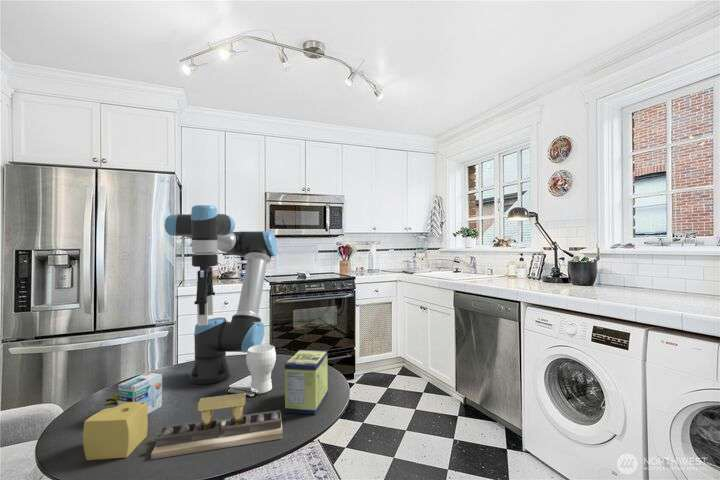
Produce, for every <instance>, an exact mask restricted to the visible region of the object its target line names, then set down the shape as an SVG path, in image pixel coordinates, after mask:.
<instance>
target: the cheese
mask: <svg viewBox="0 0 720 480" xmlns="http://www.w3.org/2000/svg"><path fill="white" fill-rule="evenodd" d="M148 415H149V414H148V407H147V402H127V403H122V404H120V405H118V404H117V406H114V407H107V408H104V409H102V410H99V411H98V412H96V413H94V414H92V415H91V416H90V417H87V419H85V420H84V423H83V430H82V443H83V452H84V456H85V460H86V461H97V460H110V459H112V460H113V459H122V458H123V459H125V458H128V457H129V455H131V454H132V452H134V450H135V449H136V448H137V447H138V446H139V445H140V444H141V443H142V442H143V441H144V440H145V439H146V438H147V436H148V426H149V425H148V423H149V422H148V420H149V419H148V418H149V417H148Z"/></svg>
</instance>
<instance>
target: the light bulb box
mask: <svg viewBox="0 0 720 480" xmlns="http://www.w3.org/2000/svg"><path fill="white" fill-rule="evenodd" d="M117 389H118V390H117V394H118V404H117V406H118V405H120V404H122V403H127V402H147V407H148V415H149V414H150V413H152V412H154V411H157V410H158V409H160V408H161V407H163V405H162V404H163V373H153V372H144V373H142V374H140V375H138V376H137V375H136V377H133V378H131V379H128V380H126V381H123V382H121V383H119V384H118V385H117Z"/></svg>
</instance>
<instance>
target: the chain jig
mask: <svg viewBox="0 0 720 480" xmlns="http://www.w3.org/2000/svg"><path fill="white" fill-rule="evenodd" d="M282 421H283V420H282V413H281V409H277V410H269V411H262V412H255V413H249V414H243V424H241V425H234V426H233V415H232V416H226V419H223V417H219V418H213V429H207V430H202V420H197V421H191V422H189V421H188V422H184V423H177V424H176V423H175V424H168V425H162V428H161V429H162V430H161V435H159V436H157V437H156V439H155V446H154V448H153V450H152V451H151V453H150V454H151V455H150V459H151V460H157V459H164V458H169V457H177V456H182V455H187V454H195V453H200V452H207V451H212V450H218V449H219V450H220V449H226V448H231V447H238V446H243V445H248V444H249V445H250V444H257V443H262V442H263V443H264V442H269V441H273V440H274V441H275V440H280V439H284V438H283V423H282Z"/></svg>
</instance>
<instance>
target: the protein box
mask: <svg viewBox="0 0 720 480" xmlns="http://www.w3.org/2000/svg"><path fill="white" fill-rule="evenodd" d="M328 376H329V375H328V350H318V349H316V350H314V349H313V350H312V349H299V350H298V351H297V352H296V353H295V354H294V355H293V356H292V357H291V358H290V359H288V360H287V362H285V363H284V413H289V414H303V415H304V414H305V415H314V416H315V415H317V413H318V411H319V409H320V408H321V406H322V405H323V402H324V401H325V399H326V397H327V396H328V394H329V393H328V386H329V385H328V382H329V381H328V380H329V379H328Z"/></svg>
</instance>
